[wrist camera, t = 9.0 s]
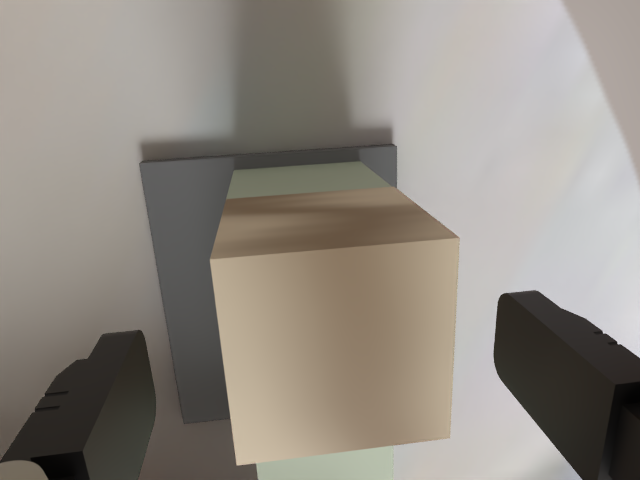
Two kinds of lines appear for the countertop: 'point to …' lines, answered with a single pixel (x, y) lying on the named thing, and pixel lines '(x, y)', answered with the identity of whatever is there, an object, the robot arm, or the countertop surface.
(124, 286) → the countertop surface
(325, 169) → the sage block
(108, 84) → the countertop surface
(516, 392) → the robot arm
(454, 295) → the maple block
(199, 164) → the build mat
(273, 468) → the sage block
